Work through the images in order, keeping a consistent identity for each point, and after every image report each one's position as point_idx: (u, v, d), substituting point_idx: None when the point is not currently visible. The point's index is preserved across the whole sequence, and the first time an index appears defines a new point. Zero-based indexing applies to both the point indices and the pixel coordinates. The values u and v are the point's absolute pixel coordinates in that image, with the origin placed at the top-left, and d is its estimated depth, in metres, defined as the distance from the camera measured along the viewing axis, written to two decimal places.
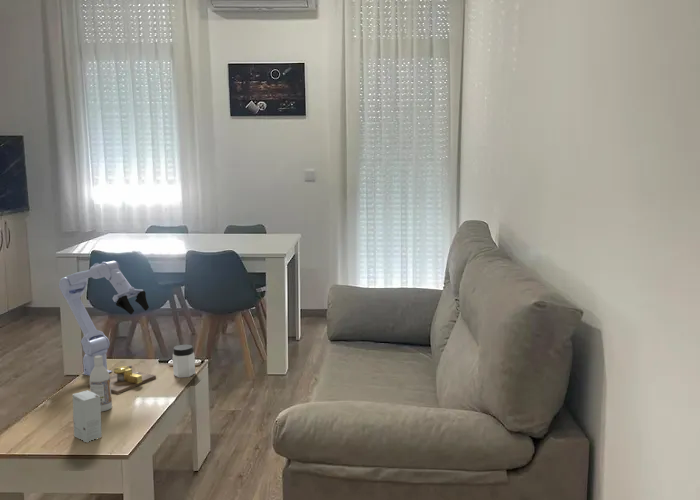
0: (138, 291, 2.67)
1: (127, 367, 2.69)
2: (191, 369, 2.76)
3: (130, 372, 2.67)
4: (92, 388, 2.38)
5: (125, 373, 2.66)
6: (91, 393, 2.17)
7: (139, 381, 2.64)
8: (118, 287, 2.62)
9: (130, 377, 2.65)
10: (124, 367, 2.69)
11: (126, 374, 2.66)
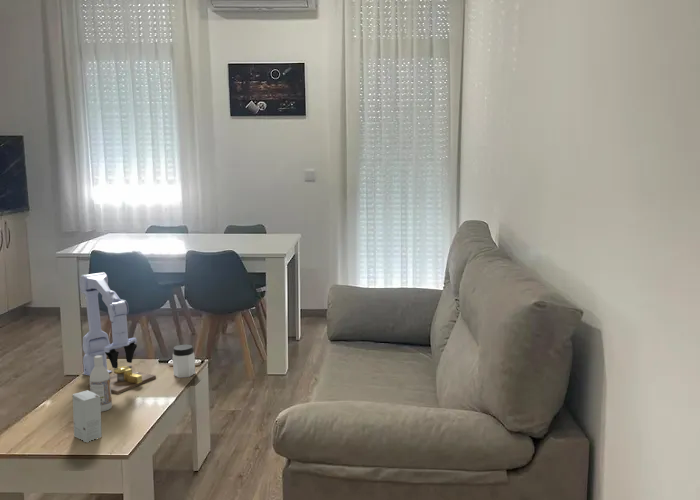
0: None
1: (127, 367, 2.69)
2: (191, 369, 2.76)
3: (130, 372, 2.67)
4: (92, 388, 2.38)
5: (125, 373, 2.66)
6: (91, 393, 2.17)
7: (139, 381, 2.64)
8: (115, 336, 2.54)
9: (130, 377, 2.65)
10: (124, 367, 2.69)
11: (126, 374, 2.66)
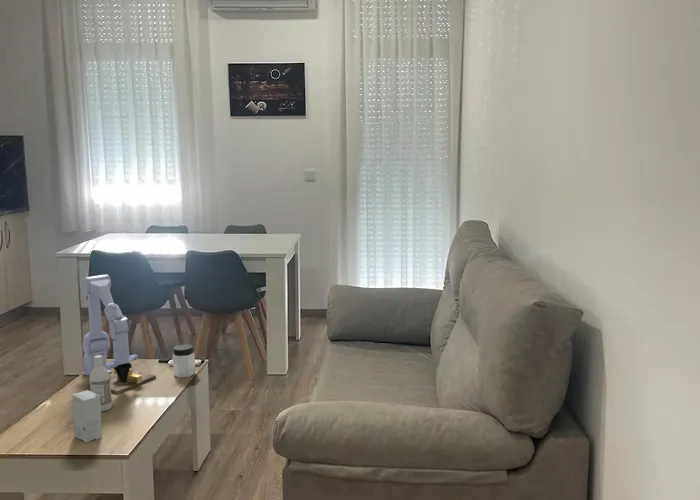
0: None
1: None
2: (191, 369, 2.76)
3: (130, 372, 2.67)
4: (92, 388, 2.38)
5: None
6: (91, 393, 2.17)
7: (139, 381, 2.64)
8: (117, 353, 2.55)
9: (130, 377, 2.65)
10: None
11: None
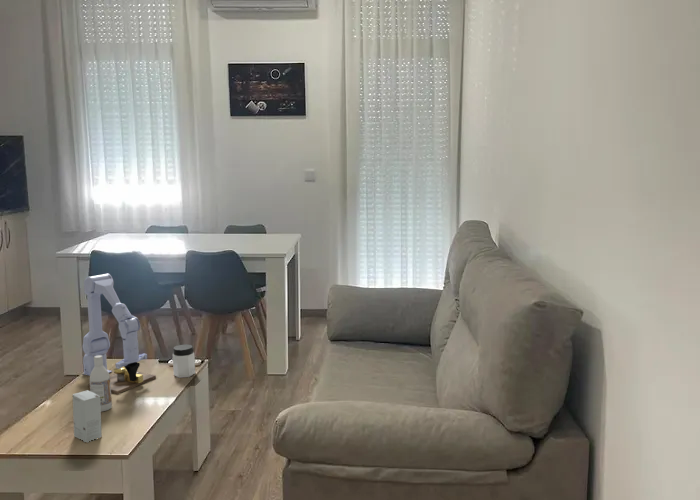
0: None
1: None
2: (191, 369, 2.76)
3: None
4: (92, 388, 2.38)
5: (126, 373, 2.66)
6: (91, 393, 2.17)
7: (140, 381, 2.65)
8: (126, 352, 2.60)
9: None
10: (124, 367, 2.69)
11: (127, 374, 2.66)
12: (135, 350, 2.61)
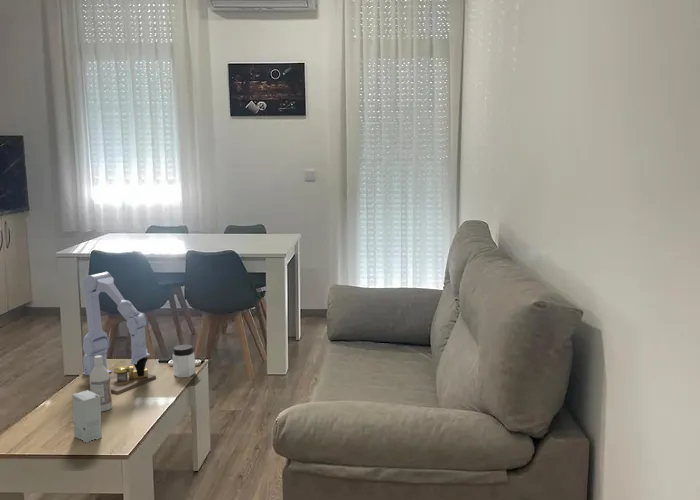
0: None
1: (125, 366, 2.71)
2: (191, 369, 2.76)
3: None
4: (92, 388, 2.38)
5: (130, 371, 2.69)
6: (91, 393, 2.17)
7: (147, 374, 2.72)
8: (138, 348, 2.65)
9: None
10: (122, 367, 2.70)
11: (132, 371, 2.69)
12: (145, 345, 2.67)
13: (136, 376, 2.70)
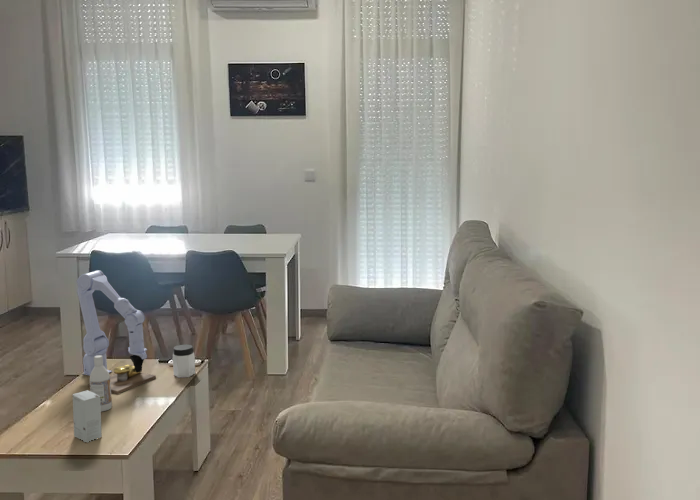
0: None
1: (120, 366, 2.70)
2: (191, 369, 2.76)
3: None
4: (92, 388, 2.38)
5: (130, 369, 2.71)
6: (91, 393, 2.17)
7: None
8: (140, 343, 2.71)
9: (134, 369, 2.74)
10: (119, 367, 2.69)
11: (131, 369, 2.72)
12: None
13: (133, 373, 2.74)
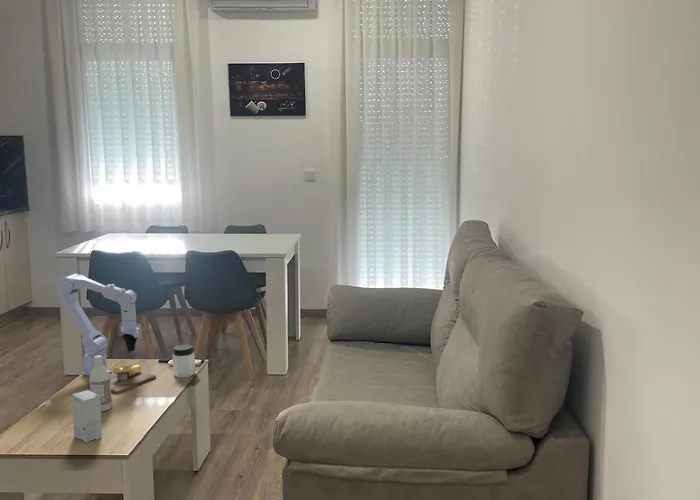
0: None
1: (120, 366, 2.70)
2: (191, 369, 2.76)
3: None
4: (92, 388, 2.38)
5: (130, 369, 2.71)
6: (91, 393, 2.17)
7: None
8: (133, 322, 2.74)
9: (134, 369, 2.74)
10: (119, 367, 2.69)
11: (130, 369, 2.72)
12: None
13: (133, 373, 2.74)
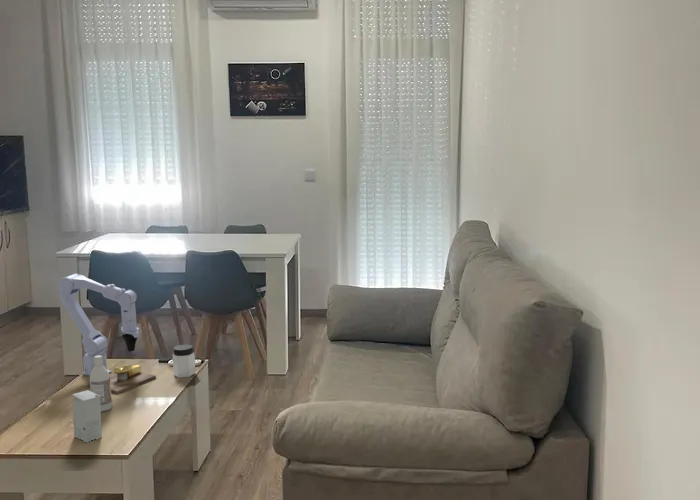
0: None
1: (120, 366, 2.70)
2: (191, 369, 2.76)
3: None
4: (92, 388, 2.38)
5: (130, 369, 2.71)
6: (91, 393, 2.17)
7: None
8: (133, 322, 2.74)
9: (134, 369, 2.74)
10: (119, 367, 2.69)
11: (130, 369, 2.72)
12: None
13: (133, 373, 2.74)
